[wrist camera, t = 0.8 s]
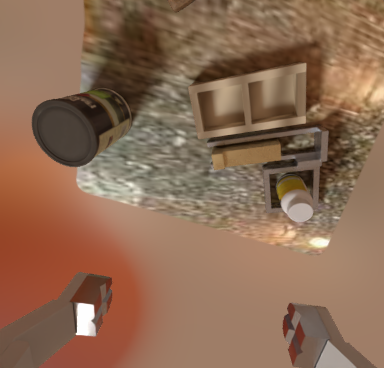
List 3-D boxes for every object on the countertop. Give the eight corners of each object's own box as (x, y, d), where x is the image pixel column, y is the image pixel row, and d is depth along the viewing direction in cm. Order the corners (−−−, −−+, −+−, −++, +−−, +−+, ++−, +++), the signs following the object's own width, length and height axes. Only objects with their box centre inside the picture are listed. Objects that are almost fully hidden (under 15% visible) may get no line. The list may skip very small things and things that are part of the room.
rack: (299, 62, 39) (306, 62, 35) (299, 117, 43) (305, 123, 39) (191, 84, 43) (188, 86, 39) (200, 133, 47) (198, 139, 43)
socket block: (320, 124, 43) (328, 130, 39) (317, 203, 50) (324, 214, 46) (207, 141, 47) (205, 148, 44) (219, 211, 55) (218, 221, 51)
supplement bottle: (269, 184, 50) (277, 211, 41) (292, 168, 47) (305, 193, 39) (286, 201, 51) (296, 230, 42) (309, 186, 48) (325, 214, 40)
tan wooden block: (276, 137, 45) (281, 145, 41) (277, 152, 46) (281, 161, 42) (213, 146, 48) (211, 155, 43) (215, 160, 49) (214, 170, 45)
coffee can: (79, 84, 46) (23, 95, 34) (131, 91, 45) (92, 104, 33) (86, 136, 51) (39, 162, 39) (132, 143, 50) (99, 172, 38)
